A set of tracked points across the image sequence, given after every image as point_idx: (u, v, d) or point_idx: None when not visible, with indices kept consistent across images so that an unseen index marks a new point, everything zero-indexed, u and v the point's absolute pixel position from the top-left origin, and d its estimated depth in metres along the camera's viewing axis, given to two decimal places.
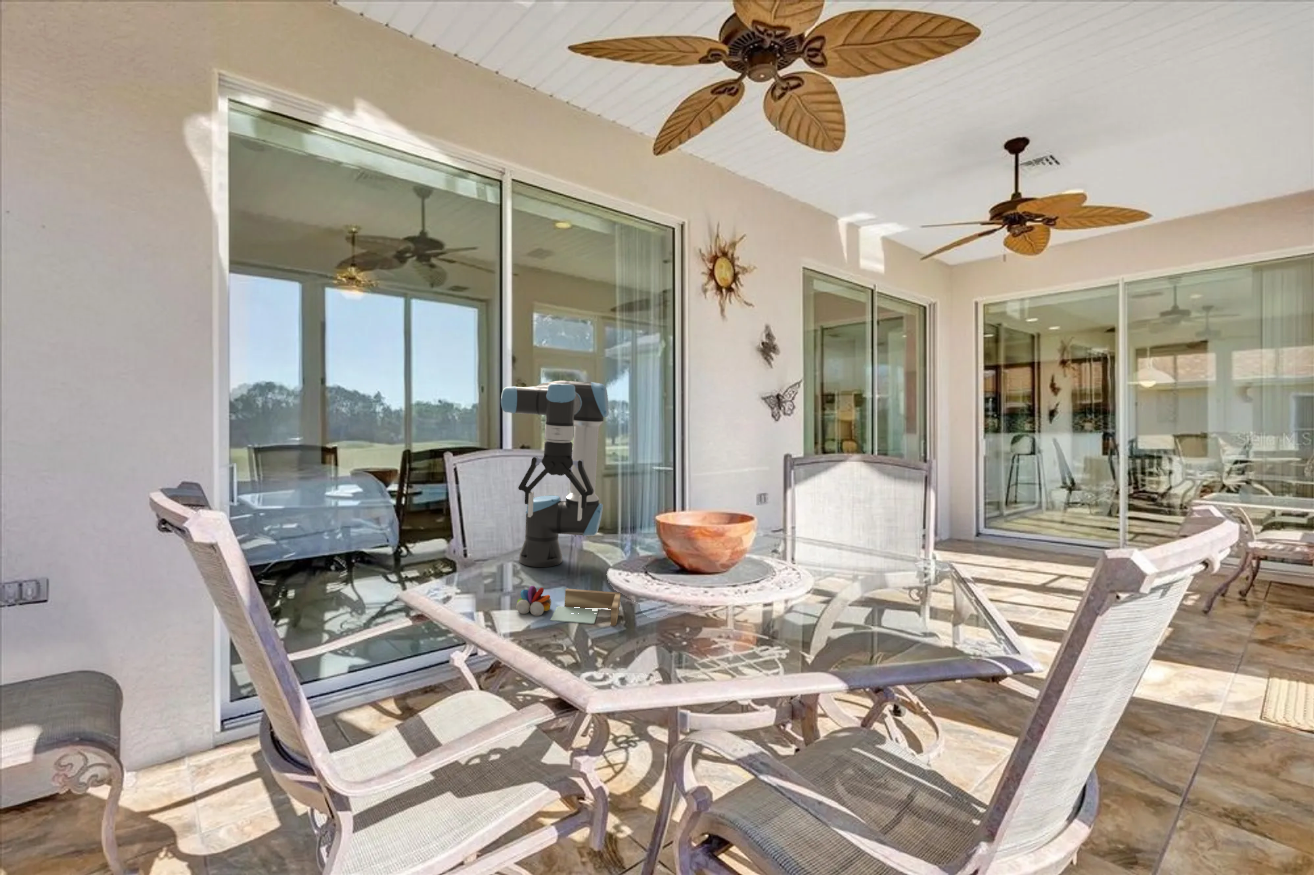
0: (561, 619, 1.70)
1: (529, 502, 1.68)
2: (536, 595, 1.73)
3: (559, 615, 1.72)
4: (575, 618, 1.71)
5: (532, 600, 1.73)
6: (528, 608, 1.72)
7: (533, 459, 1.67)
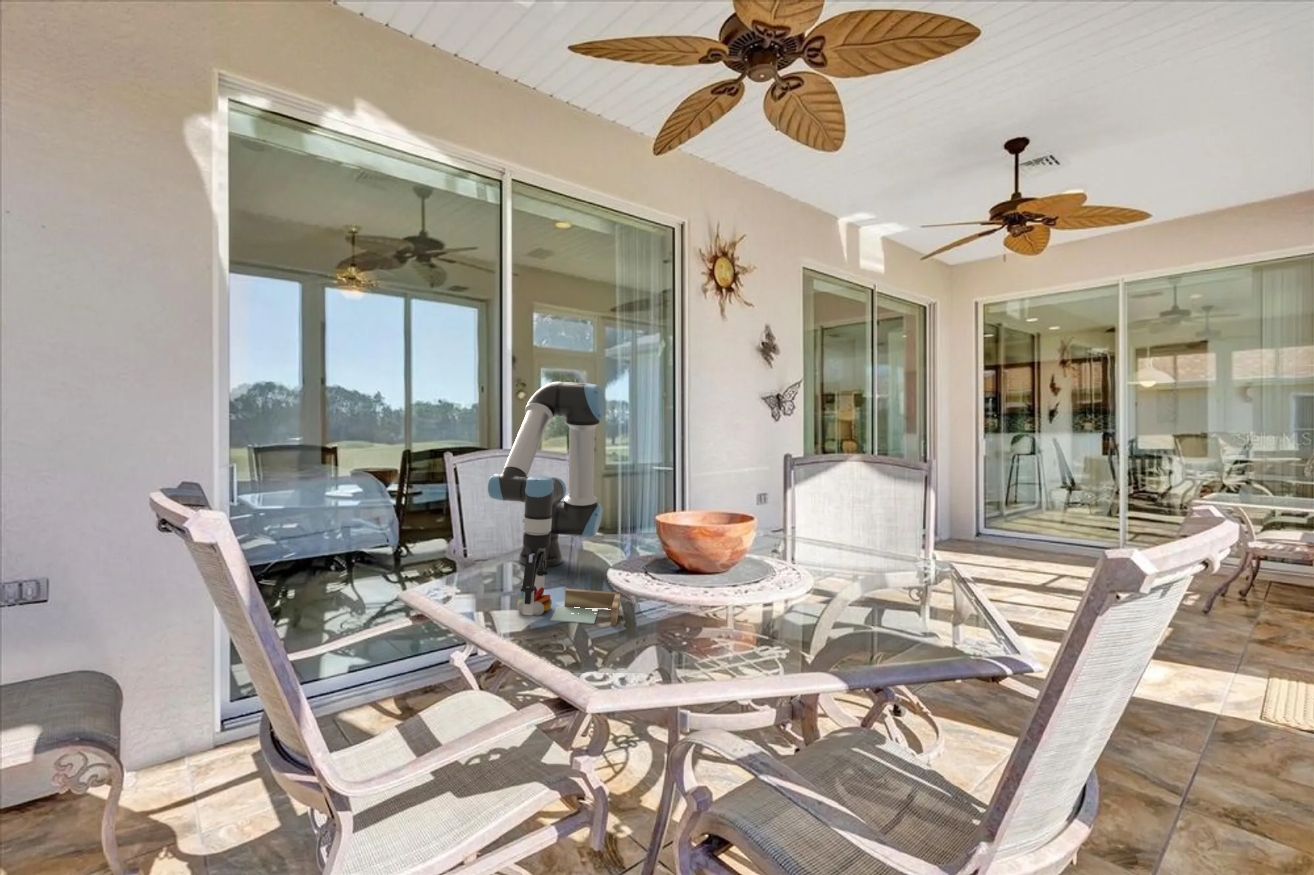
0: (561, 619, 1.70)
1: None
2: (536, 595, 1.73)
3: (559, 615, 1.72)
4: (575, 618, 1.71)
5: None
6: None
7: None
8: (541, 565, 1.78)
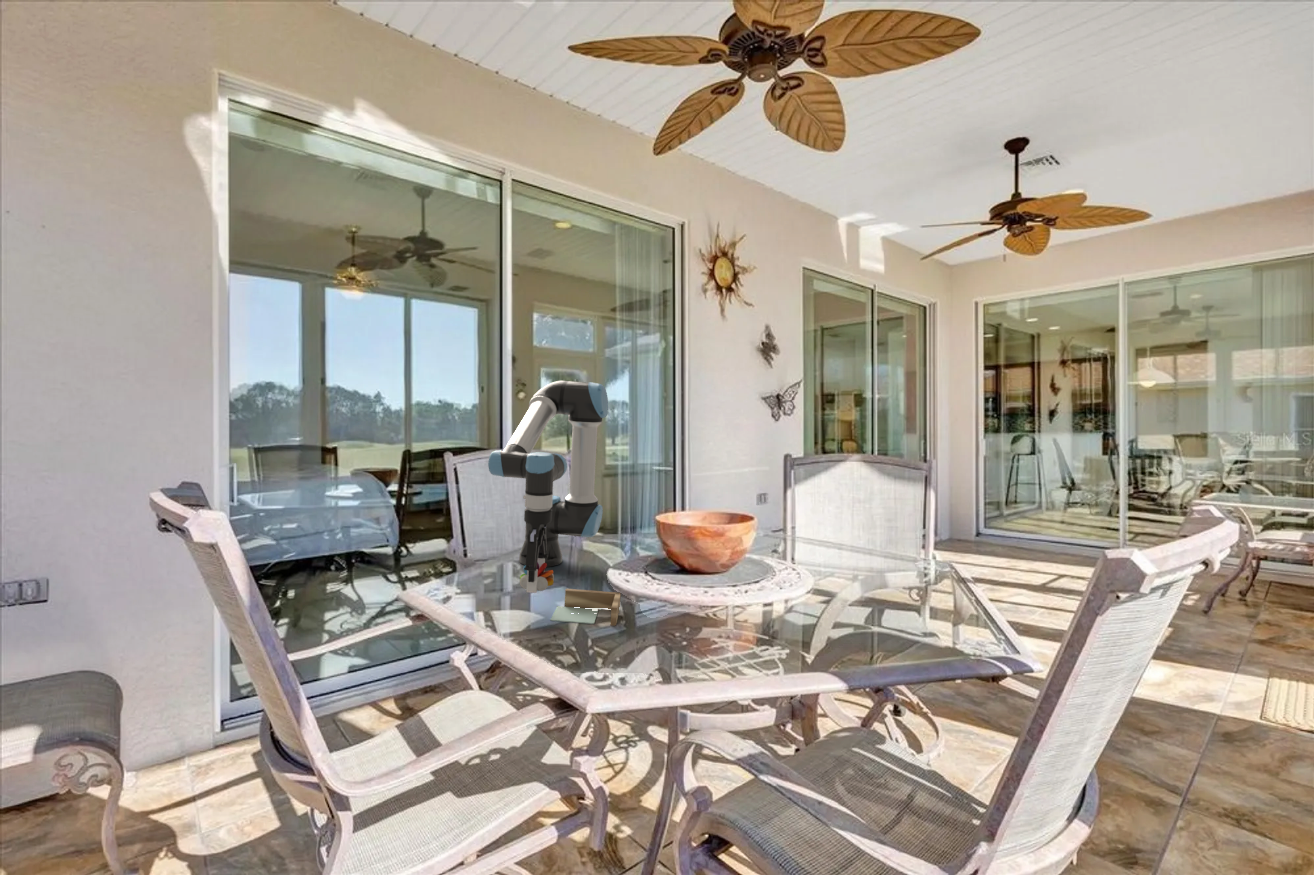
0: (561, 619, 1.70)
1: None
2: (540, 570, 1.72)
3: (559, 615, 1.72)
4: (575, 618, 1.71)
5: None
6: None
7: None
8: (542, 544, 1.77)
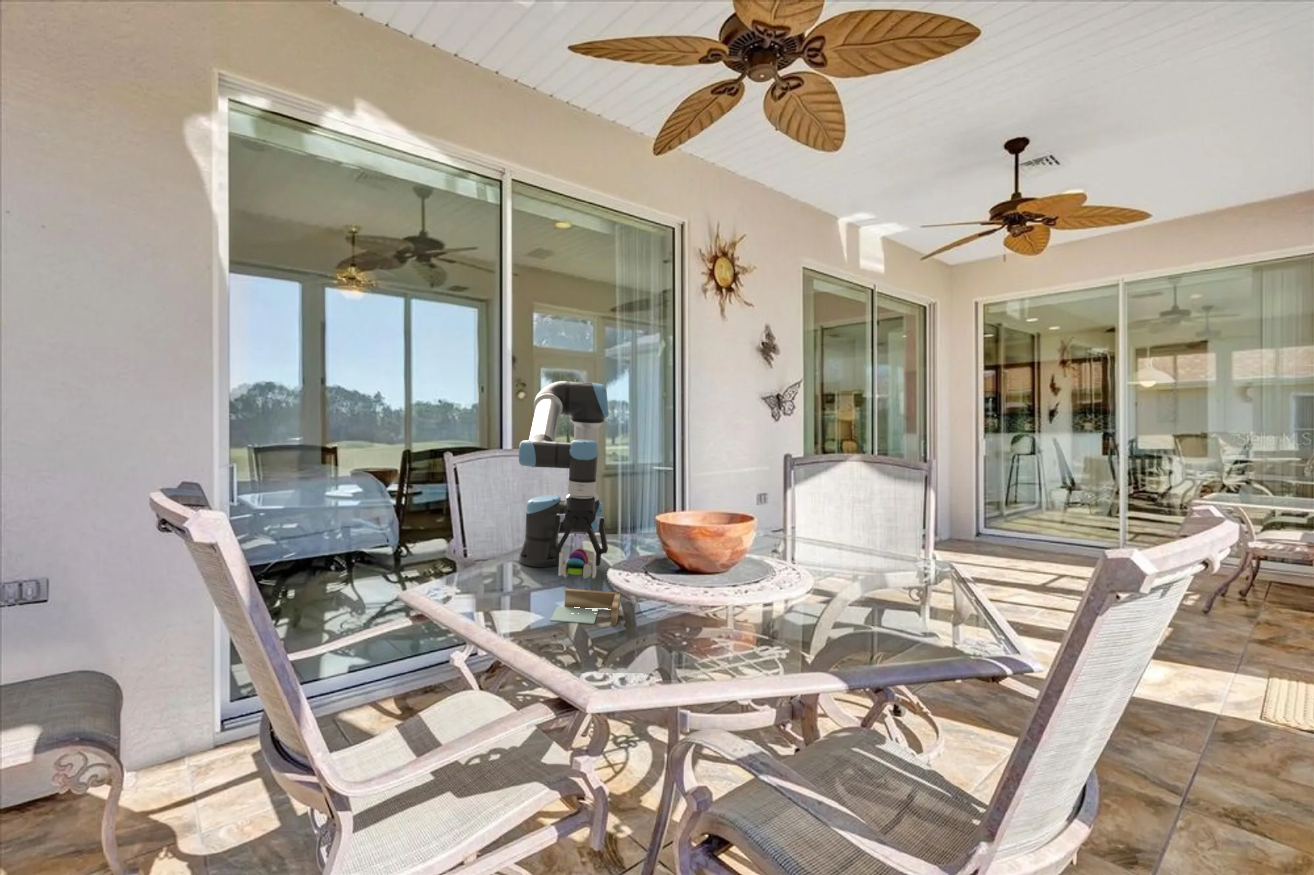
0: (561, 619, 1.70)
1: (560, 561, 1.71)
2: (586, 555, 1.74)
3: (559, 615, 1.72)
4: (575, 618, 1.71)
5: (585, 561, 1.73)
6: None
7: (556, 517, 1.70)
8: None
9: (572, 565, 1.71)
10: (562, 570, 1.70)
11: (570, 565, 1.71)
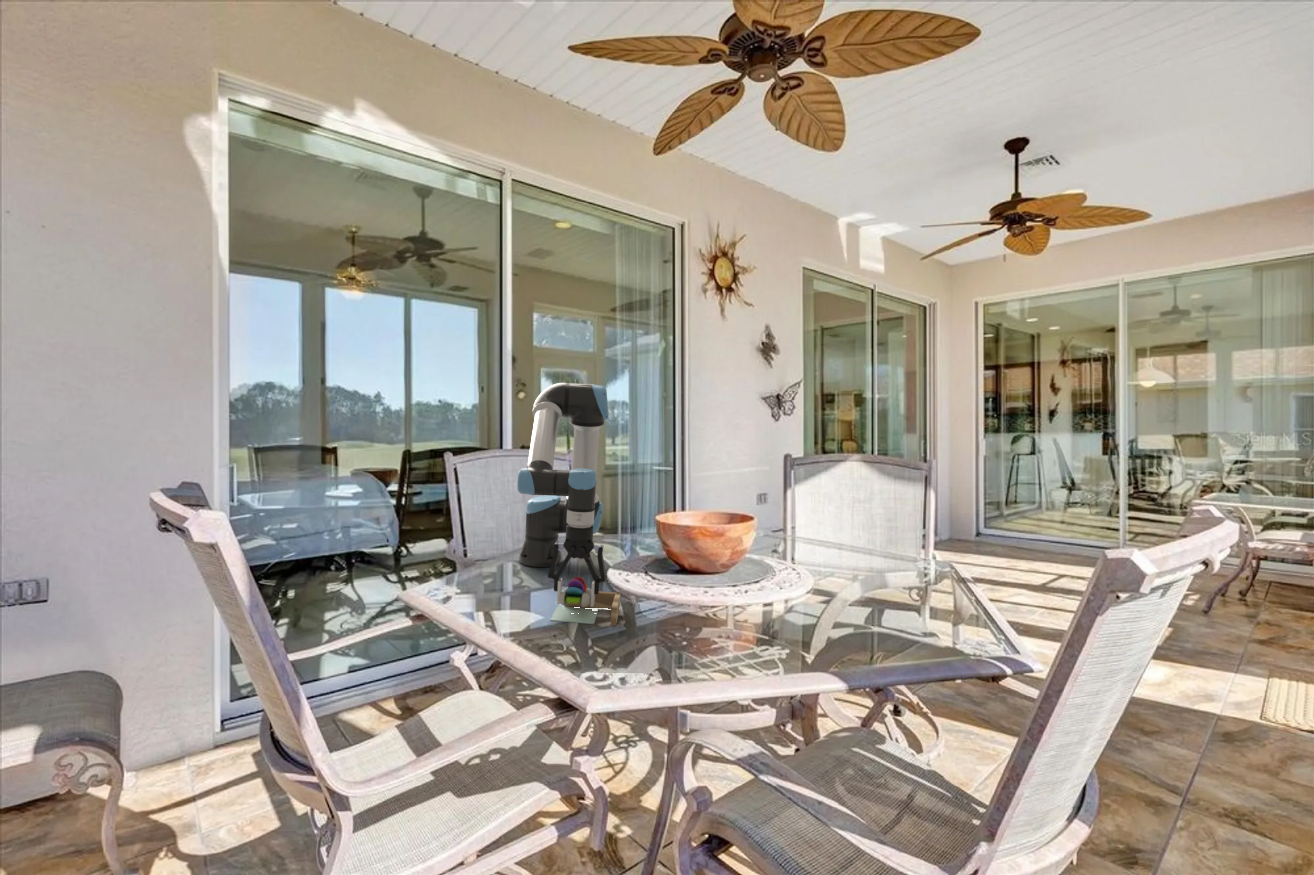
0: (561, 619, 1.70)
1: (558, 590, 1.72)
2: (584, 583, 1.75)
3: (559, 615, 1.72)
4: (575, 618, 1.71)
5: (584, 590, 1.74)
6: None
7: (555, 546, 1.71)
8: None
9: (570, 594, 1.72)
10: (560, 599, 1.70)
11: (568, 594, 1.72)
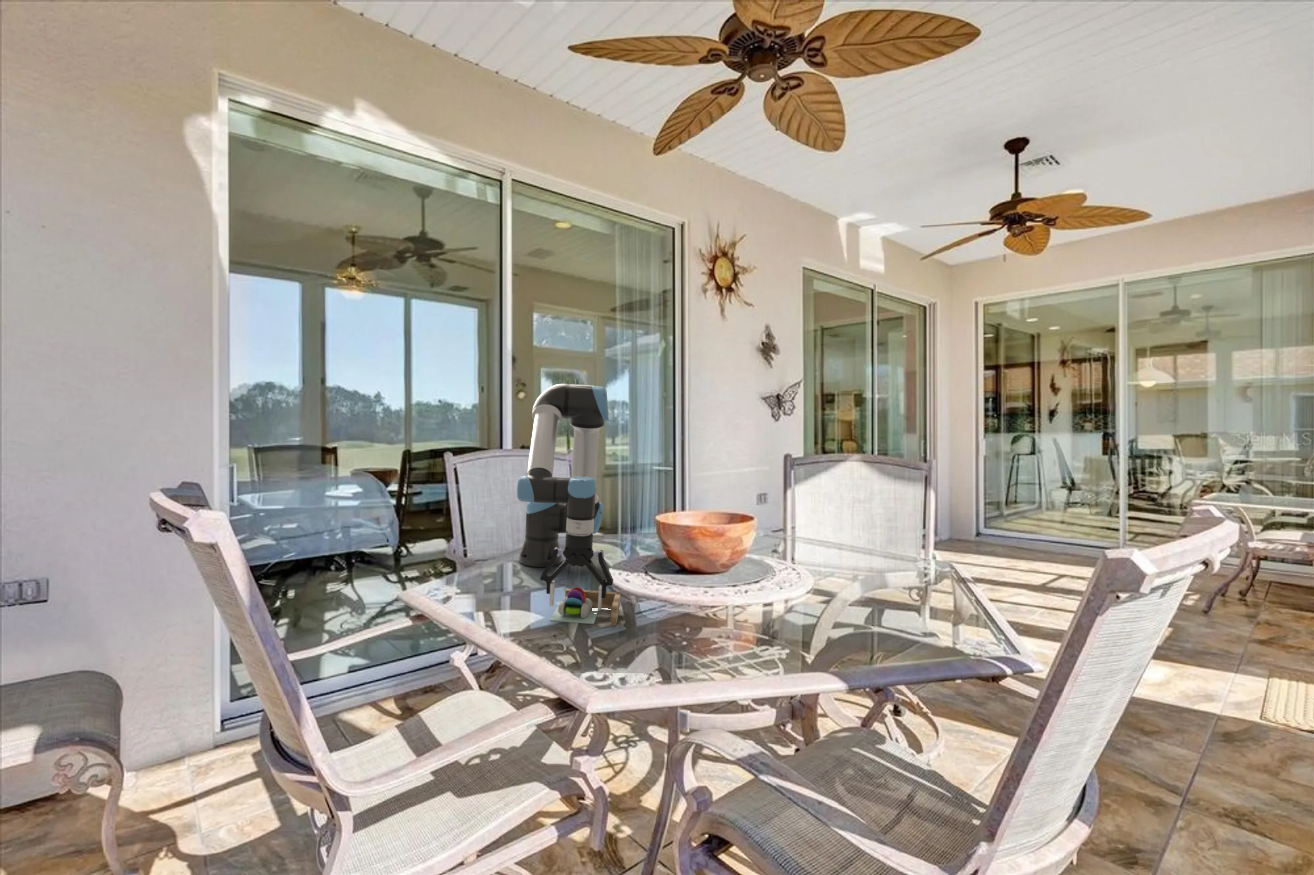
0: (561, 619, 1.70)
1: (551, 592, 1.72)
2: (584, 593, 1.75)
3: (559, 615, 1.72)
4: (575, 618, 1.71)
5: (583, 600, 1.74)
6: None
7: (555, 551, 1.71)
8: None
9: (570, 604, 1.72)
10: (560, 609, 1.71)
11: (568, 604, 1.72)
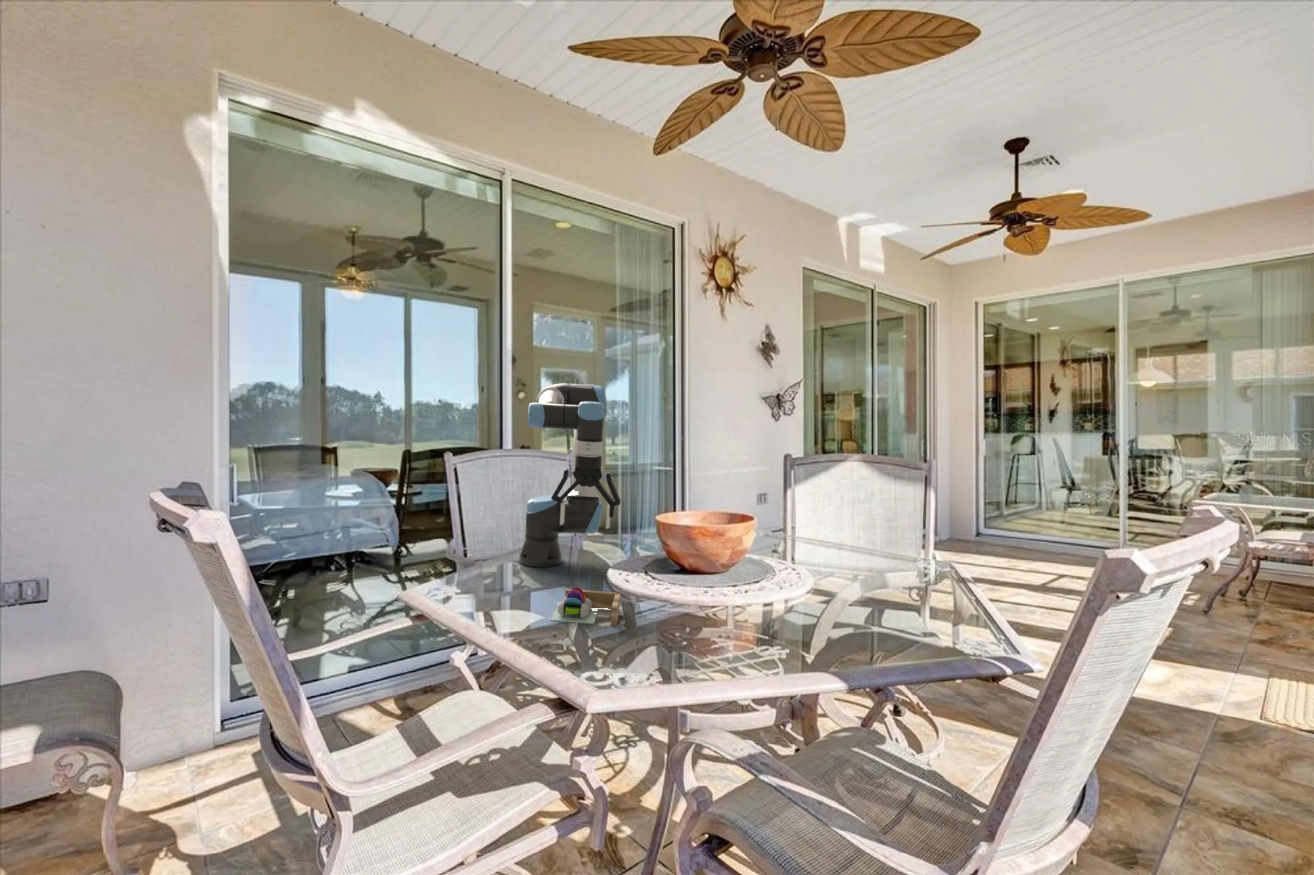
0: (561, 619, 1.70)
1: (561, 511, 1.81)
2: (583, 593, 1.75)
3: (559, 615, 1.72)
4: (575, 618, 1.71)
5: (583, 600, 1.74)
6: None
7: (565, 472, 1.80)
8: None
9: (569, 604, 1.72)
10: (559, 609, 1.71)
11: (567, 604, 1.72)
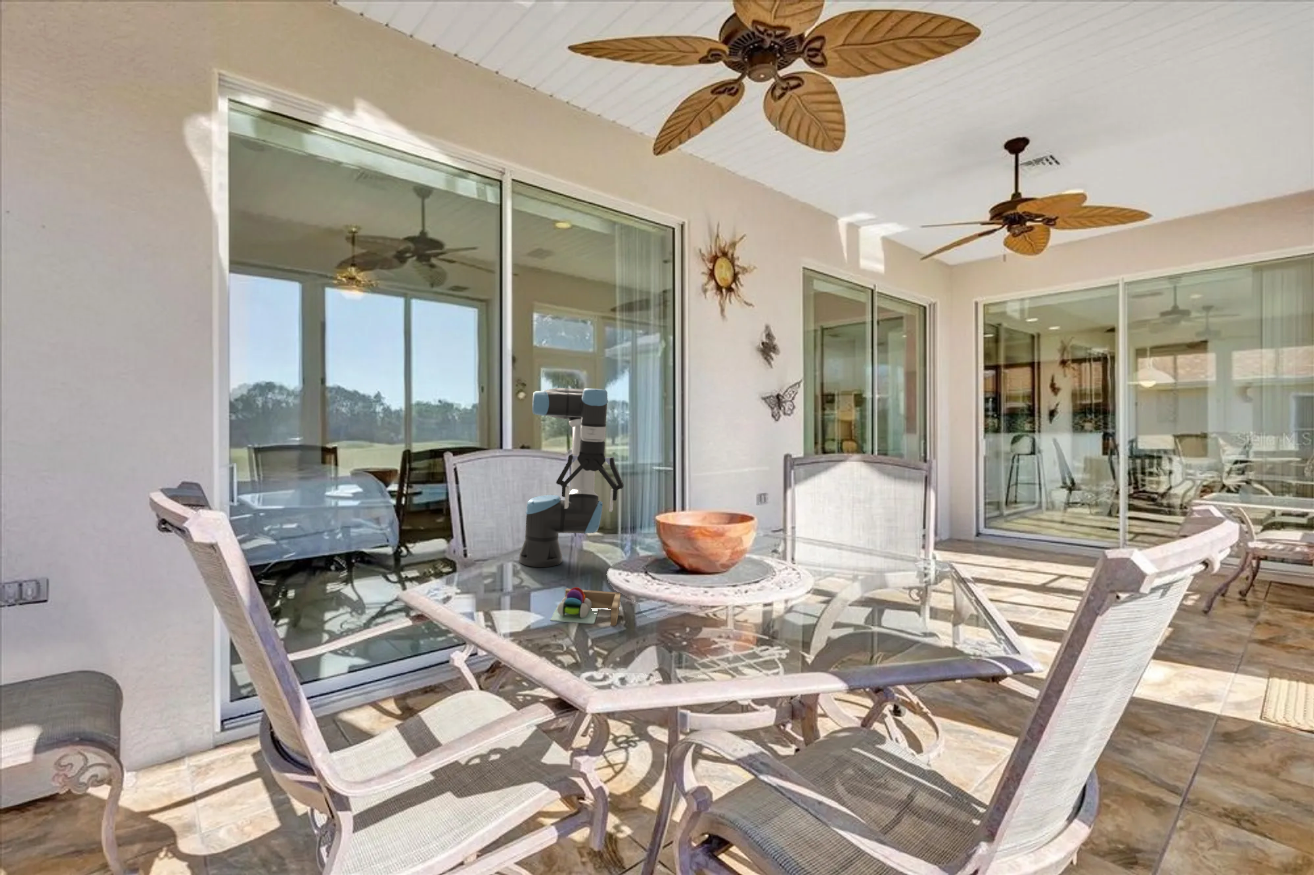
0: (561, 619, 1.70)
1: (566, 495, 1.87)
2: (583, 593, 1.75)
3: (559, 615, 1.72)
4: (575, 618, 1.71)
5: (582, 600, 1.74)
6: None
7: (570, 456, 1.86)
8: None
9: (569, 604, 1.72)
10: (559, 609, 1.71)
11: (567, 604, 1.72)
